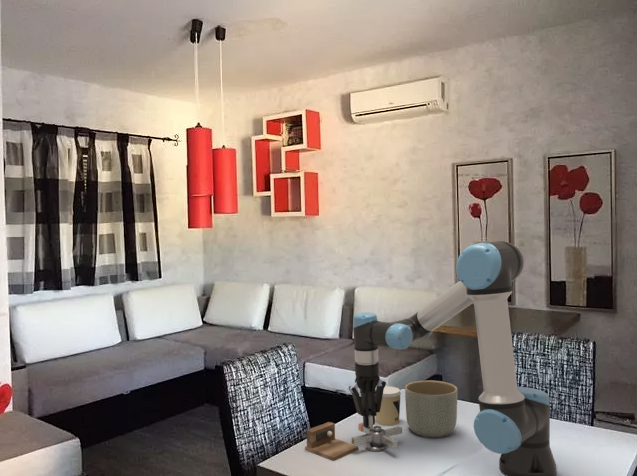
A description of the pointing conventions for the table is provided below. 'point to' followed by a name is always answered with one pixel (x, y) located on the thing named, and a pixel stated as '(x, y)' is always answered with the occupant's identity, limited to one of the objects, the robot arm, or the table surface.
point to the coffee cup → (389, 407)
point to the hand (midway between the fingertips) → (369, 435)
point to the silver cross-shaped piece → (376, 437)
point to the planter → (431, 408)
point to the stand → (327, 442)
